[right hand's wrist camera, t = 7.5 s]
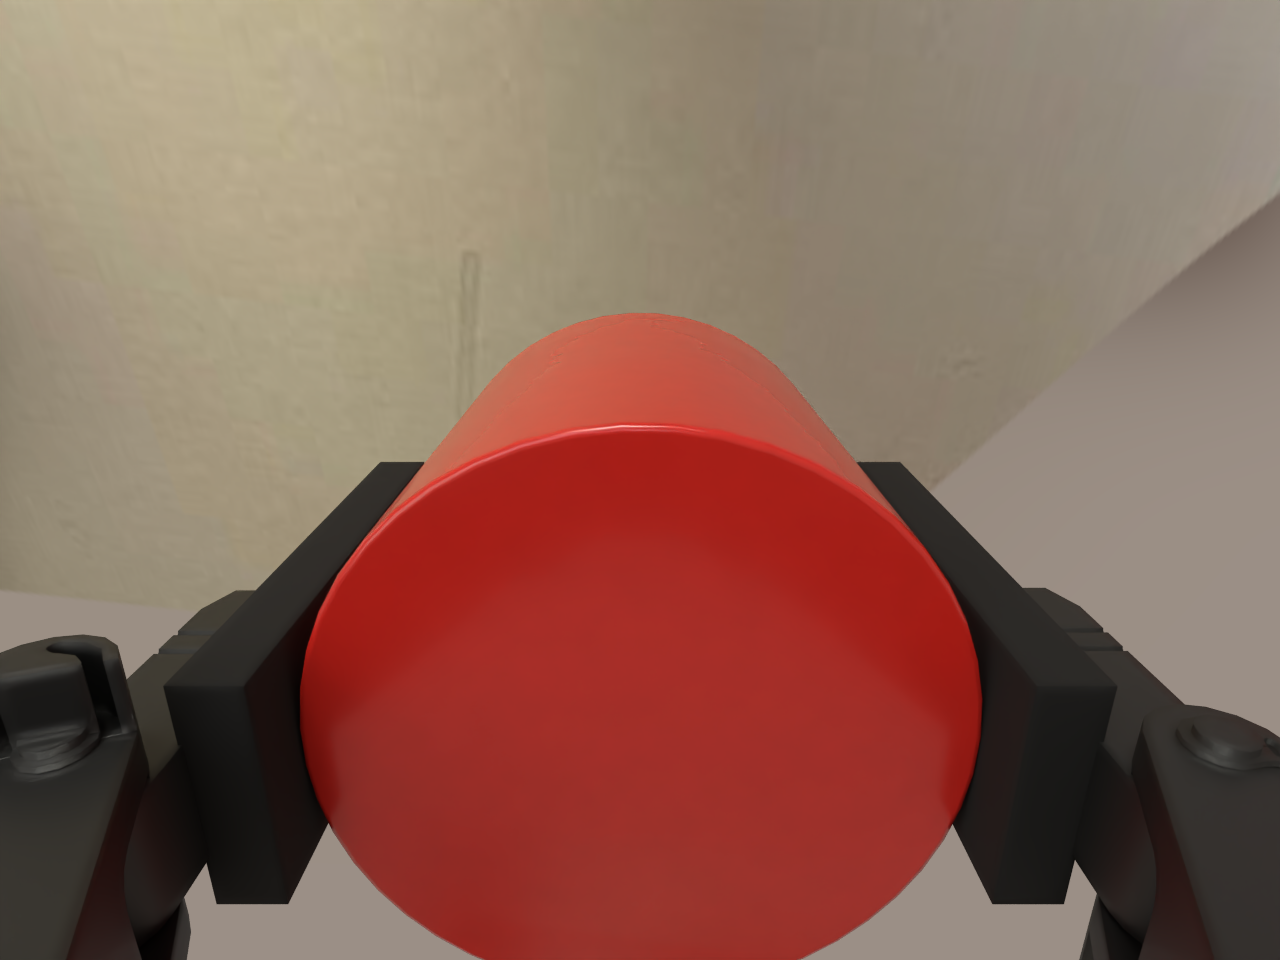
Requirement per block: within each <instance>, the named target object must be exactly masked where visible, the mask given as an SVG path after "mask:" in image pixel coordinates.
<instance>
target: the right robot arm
mask: <svg viewBox="0 0 1280 960" xmlns="http://www.w3.org/2000/svg"><path fill="white" fill-rule="evenodd" d="M856 463H857V464H858V465H859V466H860V468H861V469H862V470H863V471H864V473H865V474H866V475H867V476H868V478H869V479H870V480H871V481H872V483H873V484H874V485H875V486H876V487H877V489H878V490H879V491H880V492H881V494H882V495H883V496H884V497H885V499H886V500H887V501H888V502H889V504H890V505H891V506H892V507H893V508H894V510H895V511H896V512H897V513H898V515H899V516H900V517H901V518H902V520H903V521H904V522H905V523H906V525H907V526H908V527H909V528H910V530H911V531H912V532H913V533H914V534H915V536H916V537H917V538H918V539H919V541H920V542H921V543H922V544H923V546H924V547H925V548H926V549H927V551H928V552H929V554H930V555H931V557H932V558H933V560H934V561H935V563H936V564H937V566H938V567H939V569H940V570H941V572H942V573H943V575H944V576H945V578H946V579H947V580H948V582H949V583H950V585H951V588H952V590H953V592H954V594H955V596H956V598H957V600H958V602H959V605H960V607H961V609H962V611H963V613H964V615H965V617H966V619H967V622H968V626H969V629H970V633H971V636H972V640H973V643H974V647H975V650H976V654H977V657H978V664H979V672H980V681H981V689H982V719H981V739H980V744H979V749H978V754H977V759H976V764H975V768H974V773H973V776H972V779H971V782H970V785H969V787H968V790H967V793H966V796H965V798H964V801H963V804H962V807H961V809H960V811H959V813H958V814H957V816H956V818H955V820H954V822H953V826H954V828H955V830H956V832H957V834H958V836H959V838H960V840H961V842H962V844H963V846H964V848H965V850H966V852H967V854H968V856H969V858H970V860H971V862H972V864H973V866H974V868H975V870H976V872H977V874H978V876H979V878H980V880H981V882H982V884H983V886H984V888H985V890H986V892H987V894H988V896H989V898H990V900H991V902H992V904H1064V901H1065V897H1066V893H1067V889H1068V885H1069V881H1070V877H1071V873H1072V869H1073V865H1074V861H1075V860H1076V862H1077V863H1078V865H1079V867H1080V868H1081V870H1082V871H1083V873H1084V874H1085V876H1086V877H1087V879H1088V880H1089V882H1090V883H1091V885H1092V886H1093V888H1094V889H1095V891H1096V893H1097V895H1096V899H1095V903H1094V906H1093V910H1092V914H1091V918H1090V922H1089V925H1088V929H1087V933H1086V937H1085V940H1084V944H1083V948H1082V952H1081V956H1080V959H1079V960H1280V737H1278V736H1277V735H1275V734H1274V733H1272V732H1271V731H1269V730H1268V729H1266V728H1263V727H1261V726H1259V725H1257V724H1254V723H1252V722H1250V721H1248V720H1245V719H1243V718H1241V717H1239V716H1237V715H1233V714H1229V713H1226V712H1222V711H1218V710H1215V709H1211V708H1208V707H1202V706H1192V705H1185V704H1184V703H1183V702H1181V701H1180V700H1179V699H1178V698H1177V697H1176V696H1175V695H1174V694H1173V693H1172V692H1171V691H1170V690H1169V689H1168V688H1166V687H1165V686H1164V685H1163V684H1162V683H1161V682H1160V681H1159V680H1158V679H1157V678H1156V677H1155V676H1154V675H1153V674H1151V673H1150V672H1149V671H1148V670H1147V669H1146V668H1145V667H1144V666H1143V665H1142V664H1141V663H1140V662H1139V661H1138V660H1137V659H1136V658H1134V657H1133V656H1132V655H1131V654H1130V653H1129V652H1128V651H1123V649H1122V648H1123V647H1122V645H1120V644H1119V643H1118V642H1117V641H1116V640H1115V639H1114V638H1113V637H1112V636H1111V635H1110V634H1109V633H1104V632H1103V628H1102V627H1101V626H1100V625H1099V624H1098V623H1097V622H1096V621H1095V620H1094V619H1093V618H1092V617H1091V616H1090V615H1089V614H1087V613H1086V612H1085V611H1084V610H1083V609H1082V608H1081V607H1080V606H1078V605H1076V604H1074V603H1072V602H1071V601H1069V600H1067V599H1065V598H1063V597H1061V596H1059V595H1057V594H1056V593H1054V592H1052V591H1050V590H1048V589H1046V588H1022V587H1021V586H1020V585H1019V584H1018V583H1017V582H1016V581H1015V580H1014V579H1013V578H1012V577H1011V576H1010V575H1009V574H1008V573H1007V572H1006V571H1005V570H1004V569H1003V568H1002V566H1001V565H1000V564H999V563H998V562H997V561H996V560H995V559H994V558H993V557H992V556H991V555H990V554H989V553H988V552H987V551H986V550H985V549H984V548H983V547H982V546H981V545H980V544H979V543H978V542H977V541H976V540H975V539H974V538H973V537H972V536H971V535H970V534H969V533H968V531H967V530H966V529H965V528H964V527H963V526H962V525H961V524H960V523H959V522H958V521H957V520H956V519H955V518H954V517H953V516H952V515H951V514H950V513H949V512H948V511H947V510H946V509H945V508H944V507H943V506H942V505H941V504H940V503H939V502H938V501H937V500H936V499H935V498H934V497H933V495H932V494H931V493H930V492H929V491H928V490H927V489H926V488H925V487H924V486H923V485H922V484H921V483H920V482H919V481H918V480H917V479H916V478H915V477H914V476H913V475H912V474H911V473H910V472H909V471H908V470H907V469H906V468H905V467H904V466H903V465H902V464H901V463H900V462H856ZM423 465H424V462H380V463H379V464H378V465H377V466H376V467H375V468H374V469H373V470H372V471H371V472H370V473H369V474H368V475H367V476H366V478H365V479H364V480H363V481H362V482H361V483H360V484H359V485H358V486H357V487H356V488H355V489H354V490H353V491H352V492H351V493H350V494H349V495H348V496H347V497H346V498H345V499H344V500H343V501H342V502H341V503H340V504H339V505H338V506H337V507H336V508H335V509H334V510H333V511H332V513H331V514H330V515H329V516H328V517H327V518H326V519H325V520H324V521H323V522H322V523H321V524H320V525H319V526H318V527H317V528H316V529H315V530H314V531H313V532H312V533H311V534H310V535H309V536H308V537H307V538H306V539H305V540H304V541H303V542H302V543H301V544H300V545H299V546H298V548H297V549H296V550H295V551H294V552H293V553H292V554H291V555H290V556H289V557H288V558H287V559H286V560H285V561H284V562H283V563H282V564H281V565H280V566H279V567H278V568H277V569H276V570H275V571H274V572H273V573H272V574H271V575H270V576H269V577H268V578H267V579H266V580H265V581H264V583H263V584H262V585H261V586H260V587H259V588H258V589H257V590H256V591H234V592H232V593H230V594H229V595H227V596H225V597H223V598H221V599H219V600H217V601H216V602H214V603H212V604H210V605H208V606H206V607H204V608H203V609H201V610H200V611H199V612H198V613H197V614H196V615H195V616H194V617H192V618H191V619H190V620H189V621H188V622H187V623H186V624H185V625H184V626H183V627H182V628H181V629H180V630H179V631H178V635H174V636H172V637H171V638H170V639H169V640H168V641H167V642H166V643H165V644H164V645H163V646H162V647H161V648H160V649H159V653H158V654H153V655H152V656H151V657H150V658H149V659H148V660H147V661H146V662H145V663H144V664H143V665H142V666H141V667H140V668H139V669H137V670H136V671H135V672H134V673H133V674H132V675H131V676H130V677H129V678H128V679H127V680H126V676H125V672H124V668H123V664H122V661H121V657H120V653H119V649H118V646H117V645H116V644H114V643H113V642H111V641H110V640H108V639H107V638H105V637H98V636H90V635H73V636H62V637H53V638H48V639H44V640H40V641H36V642H32V643H27V644H23V645H20V646H17V647H15V648H12V649H9V650H7V651H4V652H1V653H0V960H187V954H188V947H189V941H190V934H191V929H190V921H189V914H188V910H187V907H186V903H185V899H184V896H185V895H186V893H187V892H188V890H189V888H190V887H191V886H192V884H193V882H194V881H195V879H196V878H197V876H198V875H199V873H200V872H201V870H202V869H203V867H204V866H205V864H206V862H207V867H208V871H209V875H210V879H211V882H212V887H213V891H214V895H215V899H216V903H217V904H288V903H289V901H290V899H291V897H292V895H293V893H294V891H295V889H296V887H297V885H298V883H299V881H300V879H301V877H302V875H303V873H304V871H305V869H306V867H307V865H308V863H309V861H310V859H311V857H312V855H313V853H314V851H315V849H316V847H317V845H318V843H319V841H320V839H321V837H322V835H323V833H324V831H325V829H326V827H327V825H328V821H327V819H326V816H325V814H324V812H323V810H322V808H321V806H320V804H319V802H318V800H317V797H316V794H315V791H314V788H313V785H312V782H311V779H310V776H309V773H308V769H307V766H306V762H305V755H304V749H303V743H302V737H301V730H300V684H301V678H302V672H303V665H304V659H305V653H306V648H307V645H308V642H309V639H310V636H311V633H312V630H313V627H314V624H315V621H316V618H317V615H318V612H319V609H320V608H321V606H322V604H323V602H324V600H325V598H326V596H327V594H328V592H329V590H330V588H331V586H332V584H333V583H334V581H335V579H336V577H337V575H338V573H339V572H340V571H341V569H342V568H343V567H344V565H345V564H346V563H347V561H348V560H349V558H350V557H351V556H352V554H353V553H354V552H355V550H356V549H357V548H358V546H359V545H360V544H361V542H362V541H363V540H364V538H365V537H366V536H367V535H368V533H369V532H370V531H371V530H372V528H373V527H374V526H375V525H376V523H377V522H378V521H379V520H380V518H381V517H382V516H383V515H384V513H385V512H386V511H387V510H388V508H389V507H390V506H391V505H392V503H393V502H394V501H395V500H396V498H397V497H398V496H399V495H400V493H401V492H402V491H403V490H404V488H405V487H406V486H407V485H408V483H409V482H410V481H411V480H412V478H413V477H414V476H415V475H416V474H417V472H418V471H419V470H420V469H421V467H422V466H423Z"/></svg>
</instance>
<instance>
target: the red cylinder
mask: <svg viewBox="0 0 1280 960" xmlns="http://www.w3.org/2000/svg"><path fill="white" fill-rule="evenodd" d="M981 719H982V689H981V681H980V672H979V664H978V657H977V654H976V650H975V647H974V643H973V640H972V636H971V633H970V629H969V626H968V622H967V619H966V617H965V615H964V613H963V611H962V609H961V607H960V605H959V602H958V600H957V598H956V596H955V594H954V592H953V590H952V588H951V585H950V583H949V582H948V580H947V579H946V578H945V576H944V575H943V573H942V572H941V570H940V569H939V567H938V566H937V564H936V563H935V561H934V560H933V558H932V557H931V555H930V554H929V552H928V551H927V549H926V548H925V547H924V546H923V544H922V543H921V542H920V541H919V539H918V538H917V537H916V536H915V534H914V533H913V532H912V531H911V530H910V528H909V527H908V526H907V525H906V523H905V522H904V521H903V520H902V518H901V517H900V516H899V515H898V513H897V512H896V511H895V510H894V508H893V507H892V506H891V505H890V504H889V502H888V501H887V500H886V499H885V497H884V496H883V495H882V494H881V492H880V491H879V490H878V489H877V487H876V486H875V485H874V484H873V483H872V481H871V480H870V479H869V478H868V476H867V475H866V474H865V473H864V471H863V470H862V469H861V468H860V466H859V465H858V464H857V463H856V461H855V460H854V459H853V458H852V457H851V455H850V454H849V453H848V452H847V450H846V449H845V448H844V447H843V445H842V444H841V443H840V442H839V440H838V439H837V438H836V437H835V435H834V434H833V433H832V432H831V431H830V429H829V428H828V427H827V426H826V424H825V423H824V422H823V421H822V419H821V418H820V417H819V416H818V414H817V413H816V412H815V411H814V410H813V408H812V407H811V406H810V405H809V403H808V402H807V401H806V400H805V398H804V397H803V396H802V395H801V393H800V392H799V391H798V390H797V388H796V387H795V386H794V385H793V384H792V383H791V381H790V380H789V379H788V378H787V377H786V376H785V375H784V374H783V373H782V372H781V371H780V369H779V368H778V367H777V366H776V365H775V364H773V363H772V362H771V361H770V360H769V359H767V358H766V357H765V356H764V355H762V354H761V353H760V352H759V351H758V350H756V349H755V348H753V347H752V346H750V345H748V344H747V343H745V342H743V341H742V340H740V339H739V338H737V337H735V336H734V335H731V334H729V333H727V332H725V331H722V330H720V329H718V328H716V327H713V326H711V325H708V324H705V323H701V322H698V321H694V320H691V319H688V318H684V317H677V316H671V315H664V314H657V313H627V314H618V315H609V316H602V317H598V318H595V319H591V320H587V321H583V322H579V323H576V324H573V325H571V326H568V327H566V328H563V329H561V330H559V331H556V332H554V333H552V334H550V335H548V336H546V337H545V338H543V339H541V340H539V341H538V342H536V343H534V344H532V345H531V346H529V347H528V348H527V349H525V350H524V351H523V352H521V353H520V354H519V355H517V356H516V357H515V358H514V359H512V360H511V361H510V362H509V363H508V364H507V365H506V366H505V367H504V368H503V369H502V370H501V371H500V372H499V373H498V374H497V375H496V376H495V377H494V378H493V379H492V380H491V381H490V383H489V384H488V385H487V386H486V388H485V389H484V390H483V391H482V393H481V394H480V395H479V396H478V398H477V399H476V400H475V401H474V403H473V404H472V405H471V406H470V407H469V409H468V410H467V411H466V412H465V414H464V415H463V416H462V417H461V419H460V420H459V421H458V422H457V424H456V425H455V426H454V427H453V429H452V430H451V431H450V432H449V434H448V435H447V436H446V437H445V439H444V440H443V441H442V442H441V444H440V445H439V446H438V447H437V449H436V450H435V451H434V452H433V454H432V455H431V456H430V457H429V459H428V460H427V461H426V462H425V464H424V465H423V466H422V467H421V469H420V470H419V471H418V472H417V474H416V475H415V476H414V477H413V478H412V480H411V481H410V482H409V483H408V485H407V486H406V487H405V488H404V490H403V491H402V492H401V493H400V495H399V496H398V497H397V498H396V500H395V501H394V502H393V503H392V505H391V506H390V507H389V508H388V510H387V511H386V512H385V513H384V515H383V516H382V517H381V518H380V520H379V521H378V522H377V523H376V525H375V526H374V527H373V528H372V530H371V531H370V532H369V533H368V535H367V536H366V537H365V538H364V540H363V541H362V542H361V544H360V545H359V546H358V548H357V549H356V550H355V552H354V553H353V554H352V556H351V557H350V558H349V560H348V561H347V563H346V564H345V565H344V567H343V568H342V569H341V571H340V572H339V573H338V575H337V577H336V579H335V581H334V583H333V584H332V586H331V588H330V590H329V592H328V594H327V596H326V598H325V600H324V602H323V604H322V606H321V608H320V609H319V612H318V615H317V618H316V621H315V624H314V627H313V630H312V633H311V636H310V639H309V642H308V645H307V648H306V653H305V659H304V665H303V672H302V678H301V684H300V730H301V737H302V743H303V749H304V755H305V762H306V766H307V769H308V773H309V776H310V779H311V782H312V785H313V788H314V791H315V794H316V797H317V800H318V802H319V804H320V806H321V808H322V810H323V812H324V814H325V816H326V819H327V821H328V823H329V825H330V827H331V829H332V831H333V833H334V834H335V836H336V837H337V839H338V840H339V841H340V843H341V844H342V846H343V847H344V849H345V850H346V852H347V853H348V855H349V856H350V858H351V859H352V861H353V862H354V863H355V865H356V866H357V867H358V868H359V869H360V870H361V871H362V873H363V874H364V875H365V876H366V877H367V878H368V879H369V880H370V881H371V883H372V884H373V885H374V886H375V887H376V888H377V889H378V891H380V892H381V893H382V894H383V895H384V896H385V897H386V898H387V899H389V900H390V901H391V902H392V903H393V904H394V905H395V906H397V907H398V908H399V909H400V910H401V911H402V912H403V913H404V914H406V915H407V916H408V917H410V918H411V919H413V920H414V921H415V922H417V923H418V924H420V925H421V926H423V927H424V928H426V929H427V930H428V931H430V932H431V933H433V934H434V935H435V936H437V937H439V938H441V939H443V940H444V941H446V942H448V943H450V944H452V945H453V946H455V947H457V948H459V949H461V950H463V951H464V952H466V953H468V954H470V955H472V956H475V957H477V958H480V959H482V960H800V959H803V958H805V957H807V956H809V955H811V954H813V953H815V952H817V951H819V950H821V949H822V948H825V947H826V946H828V945H830V944H832V943H834V942H836V941H838V940H839V939H841V938H843V937H844V936H846V935H847V934H848V933H850V932H852V931H853V930H855V929H856V928H858V927H859V926H861V925H862V924H864V923H865V922H867V921H868V920H870V919H871V918H872V917H873V916H874V915H876V914H877V913H878V912H879V911H880V910H882V909H883V908H884V907H885V906H886V905H888V904H889V903H890V902H891V901H892V900H894V899H895V898H896V897H897V896H898V895H899V894H900V893H901V892H902V891H903V890H904V889H905V887H906V886H907V885H908V884H909V883H910V882H911V881H912V880H913V879H914V878H915V877H916V876H917V875H918V874H919V873H920V872H921V871H922V869H923V868H924V867H925V865H926V864H927V863H928V861H929V860H930V858H931V857H932V856H933V854H934V853H935V851H936V850H937V849H938V847H939V846H940V845H941V843H942V842H943V840H944V839H945V837H946V835H947V833H948V831H949V829H950V828H951V826H952V824H953V822H954V820H955V818H956V816H957V814H958V813H959V811H960V809H961V807H962V804H963V801H964V798H965V796H966V793H967V790H968V787H969V785H970V782H971V779H972V776H973V773H974V768H975V764H976V759H977V754H978V749H979V744H980V739H981Z"/></svg>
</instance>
